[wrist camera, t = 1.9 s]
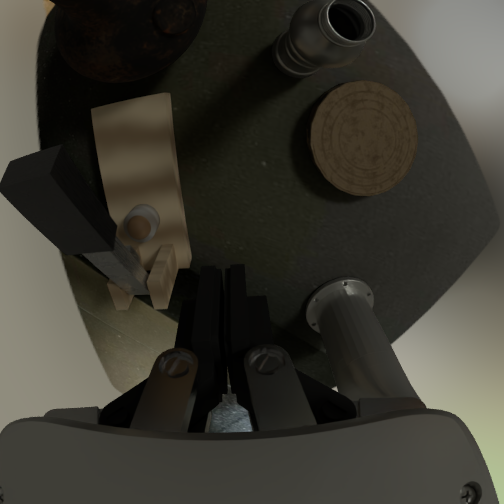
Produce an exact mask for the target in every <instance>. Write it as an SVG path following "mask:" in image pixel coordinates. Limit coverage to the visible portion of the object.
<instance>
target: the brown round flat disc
mask: <svg viewBox="0 0 504 504" xmlns="http://www.w3.org/2000/svg"><path fill="white" fill-rule="evenodd" d="M306 143H307V147H308V151H309V154H310V158H311V160H312V161H313V163H314V164H315V166H316V168H317V169H318V171H319V172H320V174H322V175H323V176H324V177H325V178H326V179H327V180H328V181H329V182H331V183H332V184H333V185H334V186H335V187H337V188H338V189H339V190H342V191H344V192H347V193H350V194H352V195H357V196H372V195H376V194H379V193H383V192H386V191H388V190H389V189H391V188H392V187H394V186H395V185H397V184H398V183H399V182H400V181H401V180H402V179H403V178H404V176H405V175H406V174H407V173H408V171H409V170H410V168H411V166H412V163H413V161H414V158H415V156H416V151H417V143H418V134H417V128H416V122H415V119H414V117H413V115H412V113H411V110H410V108H409V106H408V105H407V103H406V102H405V101H404V100H403V99H402V98H401V97H400V96H399V95H398V94H397V93H396V92H395V91H393V90H392V89H390V88H388V87H386V86H385V85H383V84H381V83H376V82H371V81H365V80H360V81H352V82H346V83H341V84H338V85H336V86H334V87H333V88H331V89H329V90H328V91H326V92H324V93H323V95H322V96H321V97H320V98H319V99H318V101H317V102H316V103H315V104H314V106H313V107H312V110H311V113H310V115H309V118H308V121H307V127H306Z"/></svg>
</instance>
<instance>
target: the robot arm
mask: <svg viewBox="0 0 504 504" xmlns="http://www.w3.org/2000/svg"><path fill="white" fill-rule="evenodd" d="M373 303H374V296H373V293H372V290H371V289H370V287H369V286H368V285H367V284H366V283H365V282H364V281H362V280H360V279H357V278H353V277H342V278H338V279H334V280H332V281H329V282H327V283H325V284H324V285H322V286H321V287H319V288H318V289H317V290H316V291H315V292H314V293H313V294H312V296H311V297H310V298H309V300H308V303H307V305H306V310H305V313H306V318H307V322H308V324H309V325H310V327H311V328H312V329H313V330H315V331H316V332H319V333H321V337H322V340H323V343H324V346H325V349H326V354H327V356H328V359H329V362H330V366H331V369H332V372H333V376H334V379H335V382H336V386H337V389H338V392H339V393H338V392H336V391H335V390H333V389H331V388H329V387H327V386H325V385H324V384H322V383H320V382H318V381H316V380H314V379H313V378H311V377H309V376H307V375H306V374H304V373H302V372H300V371H298V370H297V369H295V368H294V366H293V364H292V361H291V359H290V356H289V355H288V353H287V352H286V351H285V350H284V349H283V348H281V347H279V346H277V345H274V343H273V336H272V330H271V323H270V317H269V310H268V304H267V298H266V296H251V297H247V295H246V281H245V267H244V264H235V265H231V268H229V269H225V298H224V290H223V281H222V271H221V269H216V266H202V267H201V273H200V279H199V286H198V293H197V299H192V300H183V303H182V308H181V313H180V319H179V324H178V329H177V335H176V341H175V346H174V348H172V349H168V350H166V351H164V352H162V353H161V354H160V355H159V356H158V357H157V359H156V360H155V362H154V365H153V367H152V370H151V373H150V375H149V377H148V378H147V379H145V380H144V381H142V382H141V383H139V384H138V385H136V386H135V387H133V388H132V389H130V390H129V391H127V392H126V393H124V394H123V395H121V396H120V397H118V398H117V399H115V400H114V401H112V402H110V403H109V404H108V405H106V406H105V407H104V408H103V409H99V408H98V407H85V408H68V409H67V408H66V409H53V410H50V411H48V412H47V413H46V414H45V415H44V417H30V418H23V419H19V420H16V421H14V422H11V423H9V424H8V425H7V426H6V427H5V428H4V429H3V430H2V432H1V433H0V504H499V501H498V498H497V494H496V491H495V488H494V485H493V482H492V479H491V476H490V473H489V470H488V467H487V465H486V463H485V460H484V458H483V456H482V453H481V451H480V449H479V447H478V445H477V443H476V441H475V439H474V437H473V435H472V434H471V432H470V431H469V429H468V427H467V426H466V425H465V423H464V422H463V421H462V420H461V419H460V418H459V417H457V416H456V415H455V414H452V413H450V412H447V411H443V410H437V409H429V408H428V409H427V408H426V406H425V404H424V403H423V402H422V401H421V399H420V398H419V397H418V395H417V394H416V392H415V390H414V389H413V387H412V386H411V384H410V382H409V380H408V378H407V376H406V374H405V373H404V371H403V369H402V367H401V365H400V363H399V361H398V359H397V357H396V355H395V353H394V351H393V349H392V347H391V345H390V343H389V341H388V339H387V337H386V335H385V333H384V331H383V329H382V328H381V326H380V324H379V322H378V320H377V318H376V316H375V314H374V313H373V311H372V307H373ZM227 366H228V372H229V379H230V385H231V391H232V394H236V396H237V403H238V404H239V405H241V406H242V407H244V408H245V409H246V410H248V415H249V419H250V423H251V426H252V430H253V432H232V433H208V432H209V427H210V422H211V417H212V409H214V408H215V407H216V406H217V405H218V404H219V402H222V394H227V393H228V384H227Z"/></svg>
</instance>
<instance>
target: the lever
mask: <svg viewBox="0 0 504 504" xmlns="http://www.w3.org/2000/svg"><path fill="white" fill-rule="evenodd" d="M0 192H1V193H2V194H3V195H4V197H5V198H7V200H8V201H9V202H10V203H11V204H12V205H13V206H14V207H15V208H16V209H17V210H18V211H19V212H20V213H21V214H22V215H23V216H24V217H25V218H26V219H27V220H28V221H29V222H30V223H31V224H32V225H34V227H36V228H37V229H38V230H39V231H40V232H41V233H42V234H43V235H44V236H45V237H46V238H48V239H49V240H50V241H51V242H52V243H53V244H54V245H55V246H56V247H57V248H59V249H60V250H61V251H62V252H63V253H64V254H65V255H74V254H83V255H84V256H85V257H86V258H87V259H88V260H89V261H91V262H92V263H93V264H94V265H95V266H96V267H97V268H98V269H99V270H101V271H102V272H103V273H104V274H105V275H106V276H108V277H109V278H110V279H111V280H112V281H113V282H114V283H116V284H117V285H118V286H119V287H120V288H122V289H123V290H124V291H125V292H126V293H128V294H129V295H141V294H150V292H149V289H148V286H147V280H148V277H149V274H148V273H147V272H146V271H145V270H144V268H143V267H142V266H141V265H140V256H139V255H138V254H137V253H136V251H135V250H134V249H133V247H132V246H131V245H128V246H124V244H123V243H122V242H121V241H120V239H119V238H118V237H117V236H116V231H117V224H116V223H115V222H114V220H113V219H112V218H111V216H110V215H109V213H108V212H107V211H106V209H105V208H104V206H103V205H102V204H101V202H100V201H99V199H98V198H97V197H96V195H95V194H94V192H93V191H92V189H91V188H90V186H89V185H88V183H87V182H86V180H85V179H84V178H83V176H82V175H81V173H80V171H79V170H78V168H77V167H76V165H75V164H74V162H73V161H72V159H71V158H70V156H69V155H68V153H67V151H66V150H65V148H64V147H63V145H62V144H61V145H58V146H54V147H51V148H48V149H45V150H41V151H38V152H35V153H32V154H30V155H26V156H23V157H21V158H18V159H15V160H13V161H10V163H9V165H8V167H7V169H6V171H5V173H4V175H3V178H2V180H1V182H0Z"/></svg>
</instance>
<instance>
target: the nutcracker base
mask: <svg viewBox="0 0 504 504" xmlns="http://www.w3.org/2000/svg"><path fill="white" fill-rule="evenodd" d="M91 114H92V122H93V129H94V136H95V143H96V149H97V155H98V161H99V166H100V171H101V177H102V182H103V186H104V191H105V196H106V200H107V205H108V209H109V213H110V216H111V218H112V219H113V220H114V222H115V223H116V224H117V231H116V236H117V237H118V238H119V239H120V241H121V242H122V243H123V244H124V246H128V245H131V246H132V247H133V249H134V250H135V251H136V253H137V254H138V255H139V256H140V265H141V266H142V267H143V268H144V270H145V271H146V270H151V272H150V275H149V277H148V280H147V286H148V289H149V292H150V296H151V299H152V302H153V306H154V309H167V308H168V304H169V300H170V296H171V293H172V289H173V285H174V282H175V278H176V275H177V271H178V268H189V266H190V262H191V258H192V256H191V250H190V245H189V239H188V232H187V226H186V220H185V213H184V207H183V200H182V193H181V186H180V178H179V171H178V163H177V155H176V147H175V138H174V129H173V119H172V109H171V98H170V93H161V94H155V95H149V96H144V97H139V98H134V99H130V100H125V101H121V102H116V103H112V104H108V105H104V106H100V107H97V108H93V109H91ZM107 286H108V288H109V291H110V294H111V297H112V299H113V302H114V304H115V307H116V310H128V308H129V306H130V304H131V301H132V299H133V296H134V295H129V294H128V293H126V292H125V291H124V290H123V289H122V288H120V287H119V286H118V285H117V284H116V283H114V282H113V281H112V280H111V279H109V281H108V283H107Z"/></svg>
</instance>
